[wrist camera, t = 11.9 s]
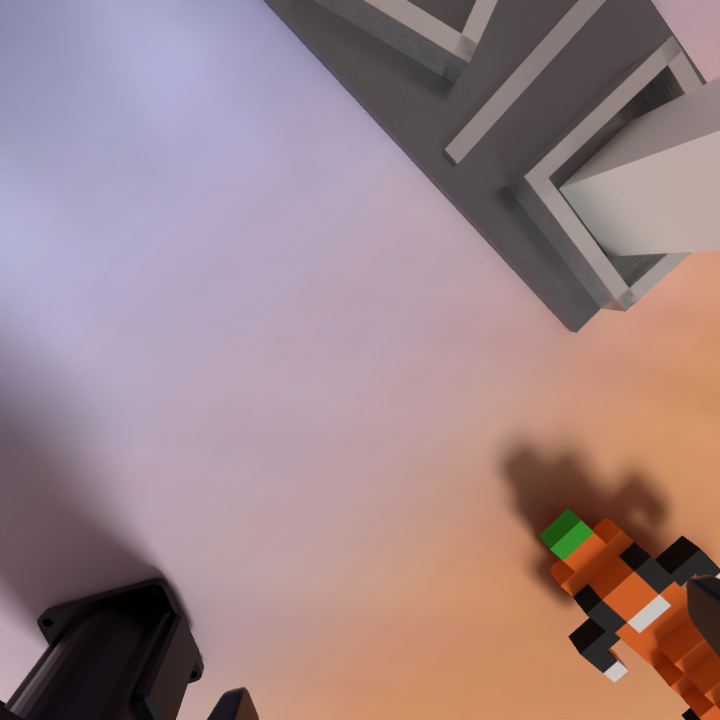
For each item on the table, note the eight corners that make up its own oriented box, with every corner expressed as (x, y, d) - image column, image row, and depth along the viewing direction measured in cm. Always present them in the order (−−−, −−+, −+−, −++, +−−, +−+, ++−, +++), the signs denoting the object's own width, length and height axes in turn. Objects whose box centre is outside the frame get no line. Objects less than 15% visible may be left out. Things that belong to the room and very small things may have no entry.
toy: (731, 805, 19) (536, 649, 16) (636, 680, 25) (480, 548, 22) (865, 700, 18) (687, 515, 15) (734, 597, 24) (587, 447, 21)
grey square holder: (593, 307, 19) (625, 311, 17) (501, 187, 18) (524, 176, 16) (715, 198, 19) (763, 189, 16) (631, 63, 17) (672, 34, 15)
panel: (251, -14, 15) (246, -29, 14) (450, -267, 14) (458, -299, 13) (570, 331, 19) (580, 333, 19) (744, 157, 18) (762, 152, 17)
